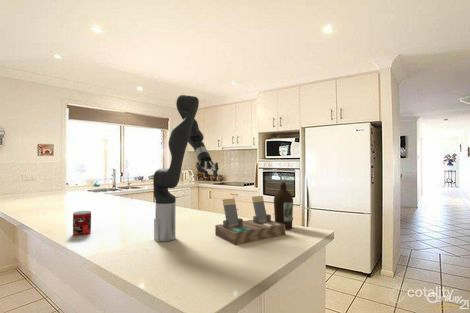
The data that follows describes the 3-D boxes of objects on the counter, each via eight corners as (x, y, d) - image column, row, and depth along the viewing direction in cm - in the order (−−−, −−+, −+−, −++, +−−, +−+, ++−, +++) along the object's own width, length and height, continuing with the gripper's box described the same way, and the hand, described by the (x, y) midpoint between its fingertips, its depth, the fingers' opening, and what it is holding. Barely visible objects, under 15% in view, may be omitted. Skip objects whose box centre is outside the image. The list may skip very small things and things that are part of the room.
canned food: (69, 234, 132) (69, 212, 132) (84, 231, 139) (85, 210, 139) (78, 236, 128) (79, 214, 128) (94, 232, 135) (94, 211, 135)
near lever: (228, 226, 125) (224, 199, 129) (227, 227, 127) (222, 200, 131) (239, 224, 129) (234, 198, 133) (237, 225, 130) (232, 199, 134)
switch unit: (234, 244, 115) (234, 226, 115) (215, 235, 130) (215, 218, 131) (285, 234, 131) (285, 218, 131) (262, 227, 146) (262, 212, 147)
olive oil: (269, 226, 147) (269, 182, 147) (283, 224, 153) (283, 181, 153) (283, 231, 138) (283, 183, 139) (297, 228, 144) (297, 182, 144)
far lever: (258, 221, 135) (253, 196, 139) (256, 222, 136) (251, 197, 140) (267, 220, 138) (262, 195, 142) (266, 221, 140) (260, 196, 144)
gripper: (193, 150, 151) (202, 172, 141) (215, 151, 159) (225, 172, 148) (190, 160, 156) (198, 181, 145) (211, 160, 163) (221, 180, 153)
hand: (212, 176), depth 147 cm, fingers open, 4 cm apart
